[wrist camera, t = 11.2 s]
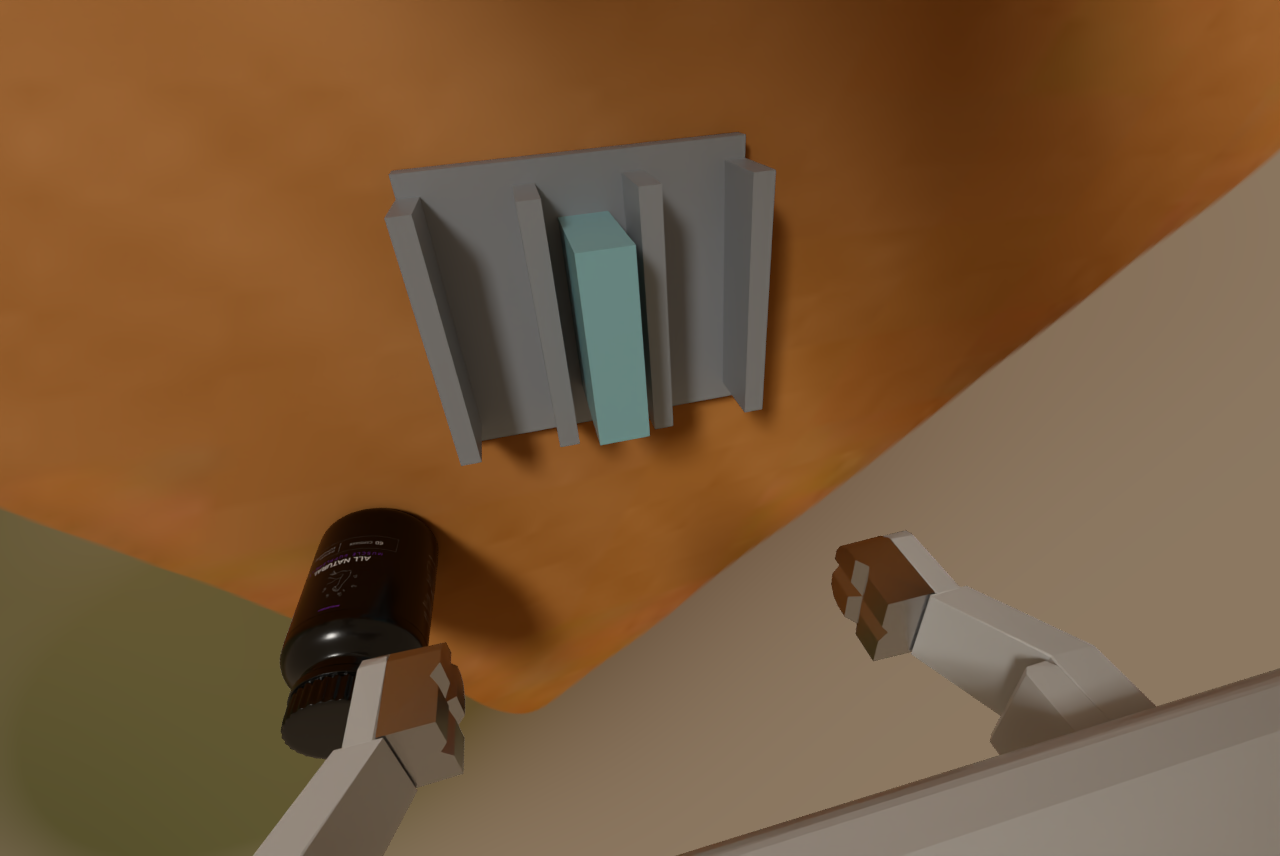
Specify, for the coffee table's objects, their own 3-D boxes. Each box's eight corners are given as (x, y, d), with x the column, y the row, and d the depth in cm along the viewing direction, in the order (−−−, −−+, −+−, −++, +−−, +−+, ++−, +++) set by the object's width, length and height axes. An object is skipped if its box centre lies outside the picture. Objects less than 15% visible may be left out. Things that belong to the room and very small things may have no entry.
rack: (391, 171, 25) (375, 190, 21) (737, 132, 27) (777, 143, 24) (467, 433, 33) (466, 481, 29) (732, 386, 35) (761, 424, 31)
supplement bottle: (358, 485, 33) (304, 666, 23) (460, 532, 36) (452, 706, 27) (297, 560, 35) (224, 758, 25) (401, 598, 38) (372, 784, 29)
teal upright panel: (557, 217, 27) (574, 253, 22) (608, 210, 27) (635, 245, 22) (582, 385, 32) (600, 445, 27) (624, 377, 32) (649, 435, 27)
